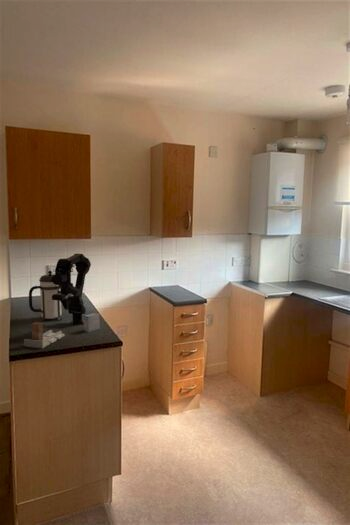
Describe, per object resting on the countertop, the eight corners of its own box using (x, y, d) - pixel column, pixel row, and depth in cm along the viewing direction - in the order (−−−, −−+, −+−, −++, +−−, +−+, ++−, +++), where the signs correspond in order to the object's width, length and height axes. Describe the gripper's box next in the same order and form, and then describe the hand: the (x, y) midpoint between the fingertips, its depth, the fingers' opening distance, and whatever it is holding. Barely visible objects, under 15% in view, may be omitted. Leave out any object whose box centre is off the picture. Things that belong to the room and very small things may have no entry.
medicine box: (95, 327, 217) (94, 312, 216) (100, 329, 214) (99, 314, 213) (83, 330, 211) (83, 315, 210) (88, 332, 208) (88, 317, 207)
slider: (35, 340, 190) (34, 322, 188) (43, 341, 188) (42, 322, 187) (30, 343, 186) (29, 324, 185) (38, 344, 185) (37, 325, 183)
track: (48, 334, 205) (47, 327, 204) (64, 335, 202) (64, 329, 202) (24, 346, 185) (23, 339, 185) (42, 348, 183) (41, 341, 182)
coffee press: (51, 314, 245) (50, 268, 241) (69, 317, 237) (68, 270, 233) (29, 320, 230) (26, 271, 226) (47, 324, 222) (45, 273, 218)
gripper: (69, 285, 196) (70, 315, 198) (87, 279, 214) (87, 306, 216) (50, 284, 199) (51, 313, 201) (69, 278, 217) (70, 305, 219)
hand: (66, 309), depth 209 cm, fingers closed
